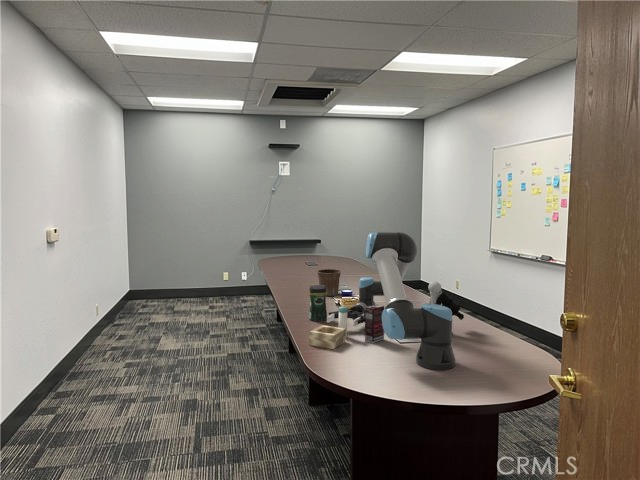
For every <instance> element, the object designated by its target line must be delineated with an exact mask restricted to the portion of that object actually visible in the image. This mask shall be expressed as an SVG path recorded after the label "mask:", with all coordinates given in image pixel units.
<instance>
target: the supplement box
mask: <svg viewBox="0 0 640 480" xmlns="http://www.w3.org/2000/svg"><path fill="white" fill-rule="evenodd" d="M384 308H385V305H383V304H382V305H381V304H376V305H373V306H369V307H365V322H364V329H365V330H364V331H365V332H364V341H365V342H367V343H370V344H374V343H377V342H380V341H383V340H385V332H384V329H383V326H382V312H383V311H384Z"/></svg>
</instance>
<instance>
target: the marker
mask: <svg viewBox="0 0 640 480" xmlns="http://www.w3.org/2000/svg"><path fill="white" fill-rule="evenodd" d="M338 311H339V318H338V328H345V339H346V338H348V318H347V311H348V307H347V306H339V307H338Z"/></svg>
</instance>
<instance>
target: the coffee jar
mask: <svg viewBox="0 0 640 480" xmlns="http://www.w3.org/2000/svg"><path fill="white" fill-rule="evenodd" d="M308 294H309V313H308V318H309V321H319V322H320V321H325V320H326V321H327V316H328V312H327V303H326V301H327V300H326V299H327V298H326V297H327V296H326V295H327V290H326V286H325V285H319V284H311V285H309V289H308Z"/></svg>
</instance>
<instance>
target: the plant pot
mask: <svg viewBox="0 0 640 480" xmlns="http://www.w3.org/2000/svg"><path fill="white" fill-rule="evenodd" d="M316 273H317V277H318V285H325V286H326V290H327V295H326V297H337V296H338V295H339V288H340V287H339V286H340V278H341V273H342V270H340V269H335V268H327V269H326V268H322V269H318V270H317V271H316Z"/></svg>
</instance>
